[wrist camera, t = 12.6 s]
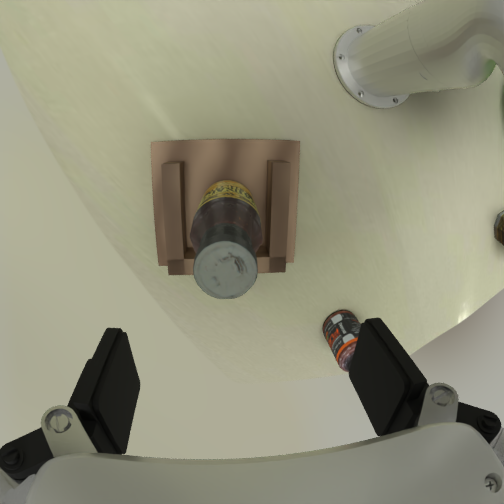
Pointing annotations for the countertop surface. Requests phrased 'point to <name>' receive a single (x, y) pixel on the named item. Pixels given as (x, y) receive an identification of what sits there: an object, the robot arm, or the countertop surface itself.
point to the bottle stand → (215, 170)
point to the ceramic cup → (499, 228)
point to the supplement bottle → (342, 336)
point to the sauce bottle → (226, 240)
